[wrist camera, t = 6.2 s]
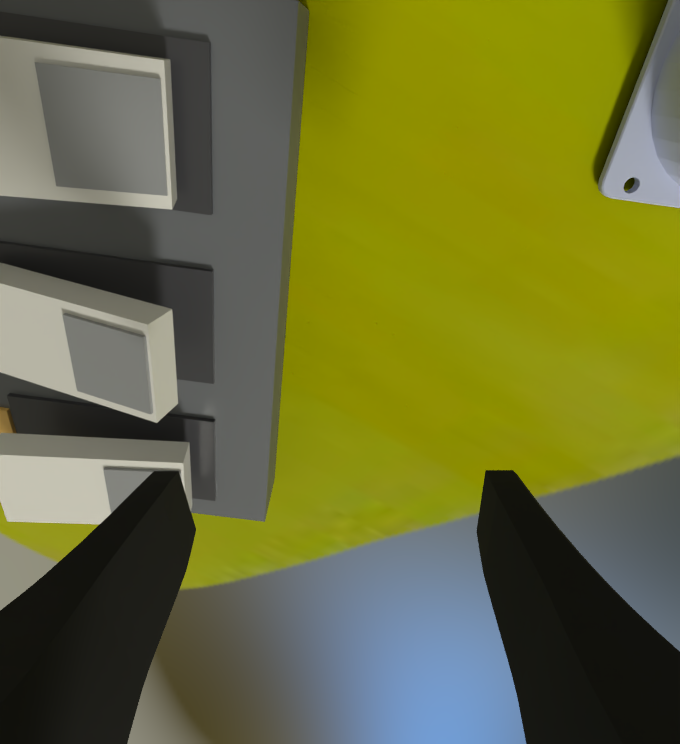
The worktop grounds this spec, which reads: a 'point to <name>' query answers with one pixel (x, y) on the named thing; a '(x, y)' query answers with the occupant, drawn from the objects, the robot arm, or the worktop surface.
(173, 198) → the block
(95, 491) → the block
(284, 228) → the switch unit
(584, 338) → the worktop surface
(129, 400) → the rocker middle
